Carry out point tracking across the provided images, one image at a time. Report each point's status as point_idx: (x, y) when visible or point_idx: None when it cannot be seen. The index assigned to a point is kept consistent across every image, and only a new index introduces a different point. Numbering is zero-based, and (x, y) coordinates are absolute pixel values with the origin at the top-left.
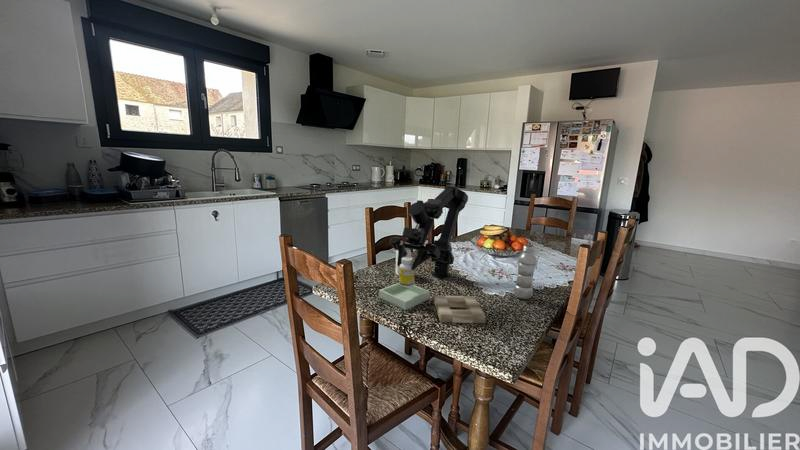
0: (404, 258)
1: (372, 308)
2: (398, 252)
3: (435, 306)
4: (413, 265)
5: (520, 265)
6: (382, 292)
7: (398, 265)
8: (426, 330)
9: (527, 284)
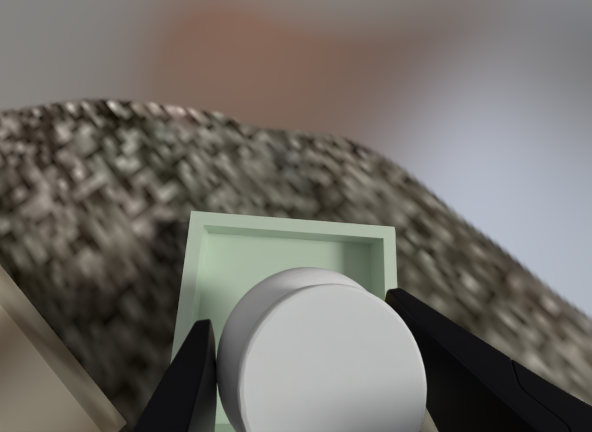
0: (368, 345)
1: (318, 144)
2: (587, 406)
3: (89, 376)
4: (188, 351)
5: None
6: (365, 226)
7: (386, 292)
8: (15, 148)
9: None
